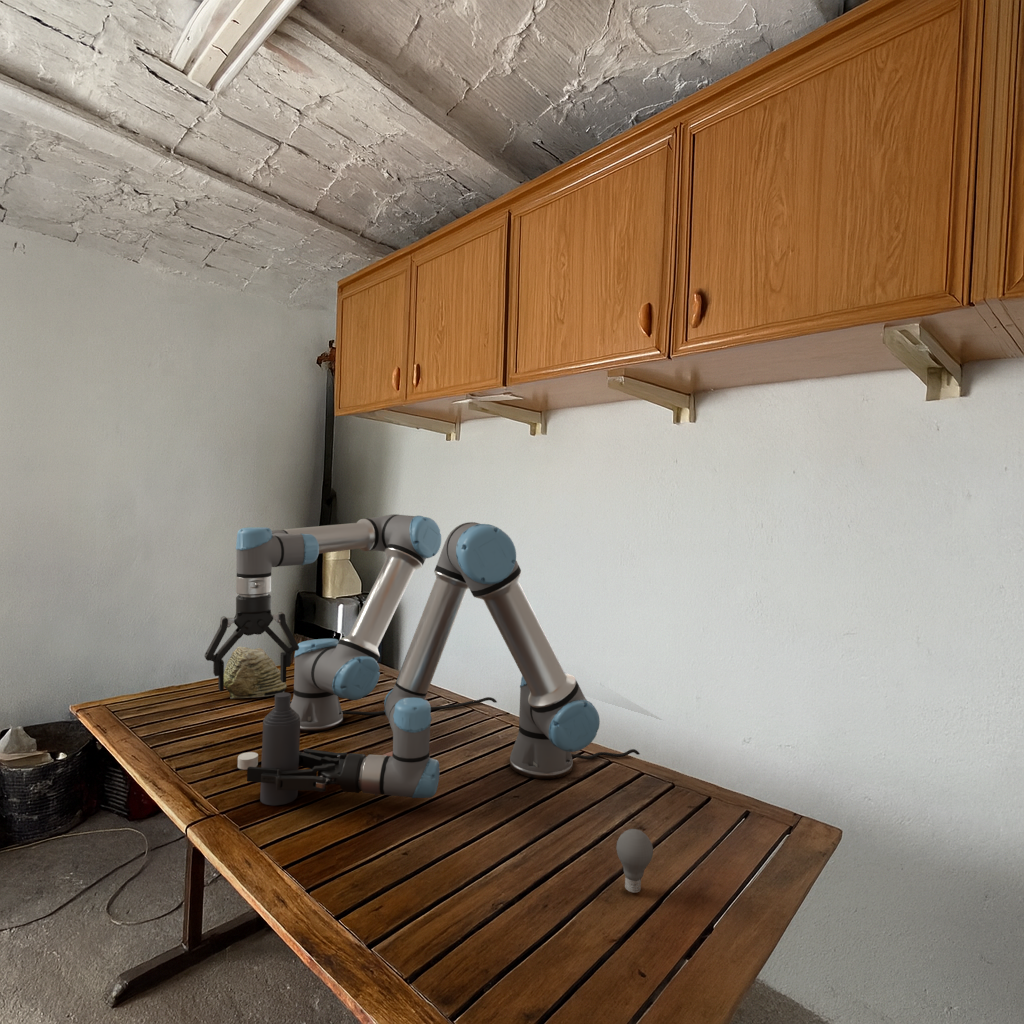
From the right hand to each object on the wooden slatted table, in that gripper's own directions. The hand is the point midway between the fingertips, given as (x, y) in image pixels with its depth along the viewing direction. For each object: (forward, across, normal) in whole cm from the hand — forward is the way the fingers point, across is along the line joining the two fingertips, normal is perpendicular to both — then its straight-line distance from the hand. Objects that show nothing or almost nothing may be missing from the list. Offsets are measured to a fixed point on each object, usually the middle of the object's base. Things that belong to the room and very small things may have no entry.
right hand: (257, 765), depth 133 cm
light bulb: (-76, -22, -6) cm, 79 cm away
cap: (+9, +14, -4) cm, 17 cm away
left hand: (+8, +14, +12) cm, 20 cm away
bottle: (-5, 0, -6) cm, 8 cm away
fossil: (+31, +63, -6) cm, 70 cm away
